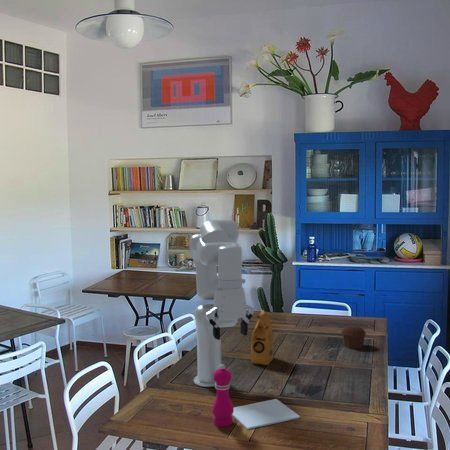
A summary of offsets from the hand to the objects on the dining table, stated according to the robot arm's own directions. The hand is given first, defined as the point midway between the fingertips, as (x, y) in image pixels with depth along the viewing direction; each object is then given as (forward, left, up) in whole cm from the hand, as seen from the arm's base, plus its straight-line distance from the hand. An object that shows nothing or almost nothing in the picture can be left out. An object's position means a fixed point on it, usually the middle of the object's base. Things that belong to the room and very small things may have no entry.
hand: (230, 336), depth 169 cm
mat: (-5, +14, -31) cm, 34 cm away
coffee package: (-54, +40, -31) cm, 74 cm away
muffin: (-53, +90, -31) cm, 109 cm away
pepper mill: (-5, -1, -31) cm, 31 cm away
